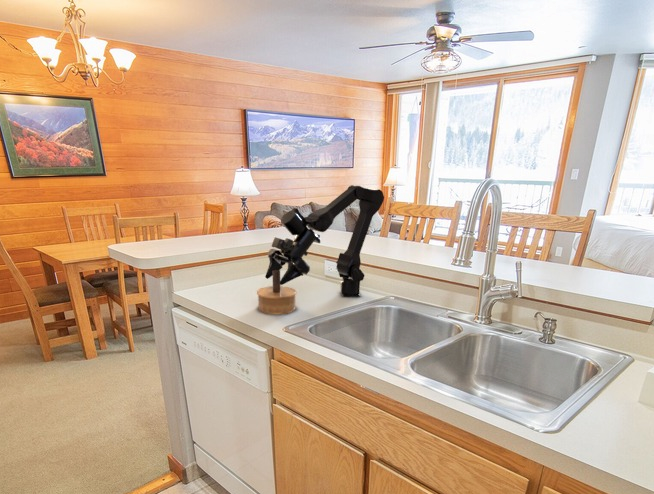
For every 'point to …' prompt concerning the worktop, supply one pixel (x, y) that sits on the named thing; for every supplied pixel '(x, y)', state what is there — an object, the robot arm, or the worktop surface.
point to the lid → (276, 289)
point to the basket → (276, 305)
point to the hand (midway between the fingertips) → (273, 281)
